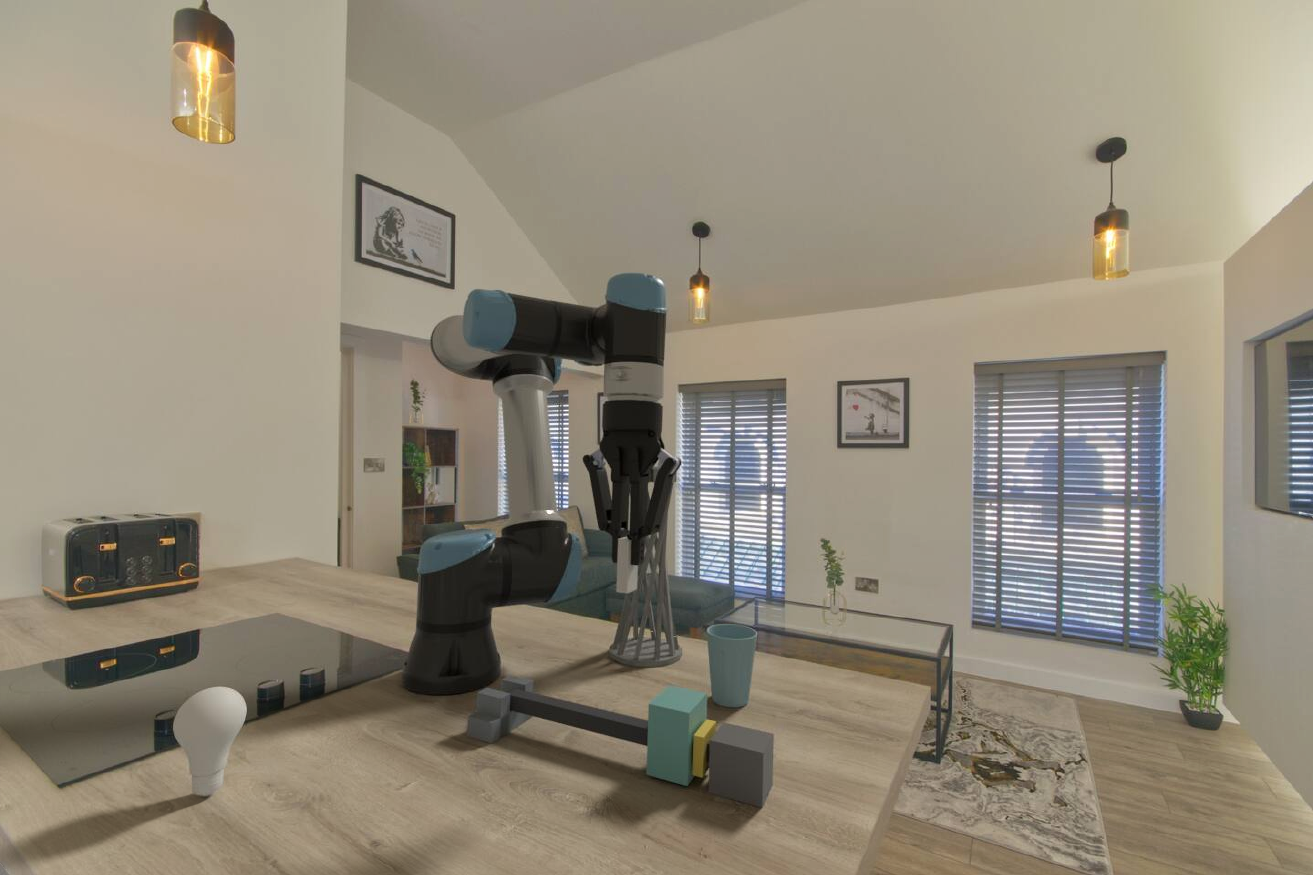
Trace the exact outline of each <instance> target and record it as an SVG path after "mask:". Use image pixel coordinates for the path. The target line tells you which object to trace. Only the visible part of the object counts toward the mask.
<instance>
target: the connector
mask: <svg viewBox="0 0 1313 875" xmlns="http://www.w3.org/2000/svg"><path fill="white" fill-rule="evenodd" d="M774 735H775V734H774V733H772V732H767V731H764V730H760V729H754V728H750V727H746V726H741V725H737V724H733V723H728V722H724V721H723V722H722V723H721V725H720V726H719V727H718V728H717V729H716V733H715V734H714V735H713V737H712V738H711V739H710V756H709V769H708V794H712V795H716V796H719V797H723V798H726V799H729V800H732V801H733V800H734V801H736V802H739V803H744V804H747V805H751V806H755V807H756V808H757V807H758V808H761V809H763V808H764V805H765V802H766V800H767V798H768V796H769V794H770V791H771V789H772V787H773V785H774V784H773V783H774V782H773V779H774V743H775V742H774V738H775V736H774Z"/></svg>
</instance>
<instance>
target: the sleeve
mask: <svg viewBox="0 0 1313 875" xmlns="http://www.w3.org/2000/svg"><path fill="white" fill-rule="evenodd" d="M707 705H708V693H707V692H702V691H698V690H693V689H687V688H684V687H679V686H673V685H668V686H666V687H665V688H664V690H662V691H661V692H660V693H659V694H658V695H657V696H655V698H654V699H652V700H651V701H650V702H649V703H648V710H647V711H648V713H647V714H648V715H647V720H648V743H647V746H646V748H647V749H646V750H647V751H646V776H651V777H654V778H657V779H661V780H664V781H668V782H672V783H675V784H679V785H681V786H686V787H688V786H689V784H690V783H691V782H692V781H693V779H694V777H695V776H694V775H693V758H692V753H693V737H694V734H695V733H696V732H697V730H698V729H699V728H700V727H701V725H702V724H703V723H704V722H705V721H706V719H707V718H708V717H707V714H708V713H707V709H708V708H707V707H708V706H707Z"/></svg>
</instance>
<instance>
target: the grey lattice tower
mask: <svg viewBox="0 0 1313 875" xmlns="http://www.w3.org/2000/svg"><path fill="white" fill-rule="evenodd" d="M658 471H659V468H658V464H657V465H656V464H655V465H654V467H653V468H652V469H651V471H650V481H649V483H653V484H654V483H655V479H656V476H657V473H658ZM677 472H678V471H677ZM677 472H676V473H675V475H674V476H673V480H672V484H671V488H670V492H669V496H668V500H667V504H666V508H665V511H664V515H663V519H662V523H661V527H660V530H659V532H658V533H655V534H652V535H648V536H647V537H646V538H645V550H646V551H645V552H644V561H643V564H640V565H638V567H639V566H640V572H639V574H638V575H637V589H636V590H634V591H632V592H630V593H624V599H623V605H622V609H621V613H620V617H619V620H618V624H617V628H616V632H615V636H614V641H613V643H611V645H610V646H609V648H608V649H609V650H608V651H609V658H611V659H613V660H615V661H616V662H617V663H618V662H619V664H620V663H621V665H626V666H631V667H637V668H638V667H639V668H655V667H662V666H669V665H672V664H674V663H677V662H679V661H680V660H681V658H682V656H683V648H682V647H681V645H680V644H679V641H678V636H677V631H676V626H675V622H674V621H675V620H674V617H673V611H672V610H673V609H672V606H671V595H670V594H671V593H670V585H669V584H670V583H669V576H668V562H667V554H666V552H667V536H668V519H669V518H668V517H669V516H668V515H669V508H670V503H671V499H672V498H671V497H672V492H673V487H674V483H677ZM630 496H631V483H630V492H629V497H630ZM650 499H651V496H650V492H649V490H648V505H647V511H648V507H649V503H650ZM653 550H655V553H653ZM648 567H649V568H650V572H651V573H650V576H649V581H648V576H647V575H648V574H647V570H648ZM657 570H658V571H657ZM642 587H643V588H642ZM642 589H643V591H644V598H645V601H644V606H643V611H642V612H643V613H642V618H641V621H640V626H639V599H640V595H641V592H642ZM653 590H655V591H654V592H655V594H656V599H657V600H656V616H655V619H656V620H654V613H653V607H652V594H653ZM631 595H632V600H631ZM630 600H631V603H630ZM629 606H630V607H629ZM647 619H648V621H647ZM647 622H648V623H649V629H650V630H649V631H650V637H648V636H644V635H645V630H646V624H647ZM662 626H663V631H664V635H665V638H662ZM631 628H632V635H633V636H632V637H629V635H630V632H631ZM651 631H653V632H651ZM674 636H676V637H674Z"/></svg>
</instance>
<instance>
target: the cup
mask: <svg viewBox="0 0 1313 875" xmlns="http://www.w3.org/2000/svg"><path fill="white" fill-rule="evenodd" d="M706 638H707V639H706V640H707V650H708V661H709V662H708V664H709V677H710V689H711V690H710V691H711V699H712V701H713V702H714V703H715V704H717V705H719V706H722V707H726V708H742V707H744V706H746V705H747V704H748V702H749V699H750V691H751V685H752V684H751V683H752V676H753V670H754V662H755V655H756V647H757V639H758V632H757V630H755V629H753V628H751V627H748V626H746V625H741V624H733V623H732V624H731V623H722V624H721V623H720V624H713V625H710V626H709V627H707V628H706Z"/></svg>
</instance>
